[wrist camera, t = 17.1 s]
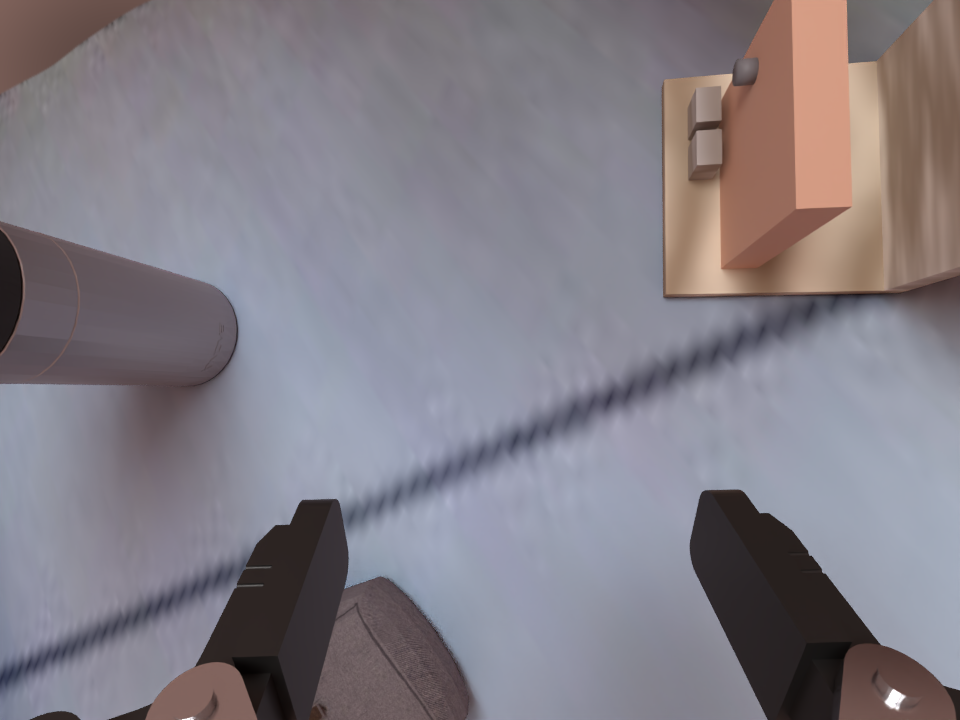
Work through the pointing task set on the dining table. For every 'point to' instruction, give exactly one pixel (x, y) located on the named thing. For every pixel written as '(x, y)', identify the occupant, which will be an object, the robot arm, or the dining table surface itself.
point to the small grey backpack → (386, 662)
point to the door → (786, 133)
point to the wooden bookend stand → (874, 170)
